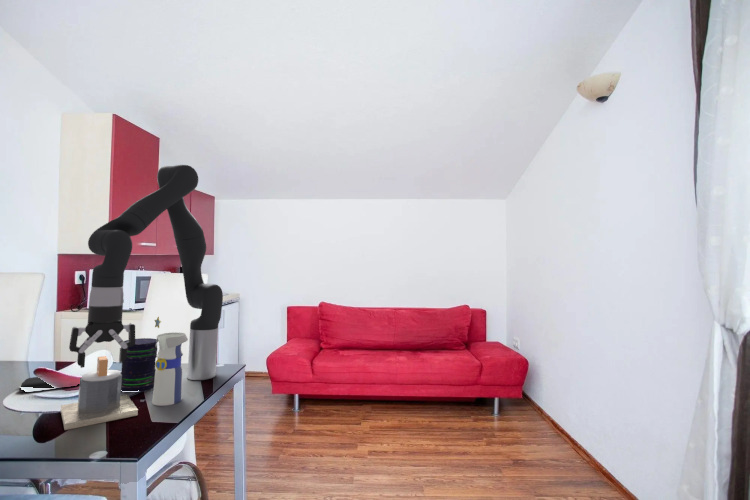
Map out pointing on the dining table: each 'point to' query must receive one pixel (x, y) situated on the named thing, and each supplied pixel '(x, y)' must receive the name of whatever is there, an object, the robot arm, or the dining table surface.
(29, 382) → the carrying case or bag
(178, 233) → the robot arm
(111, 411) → the grey container on board
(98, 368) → the white lid with handle
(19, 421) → the dining table surface
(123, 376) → the storage jar
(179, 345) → the white plastic tall bottle
